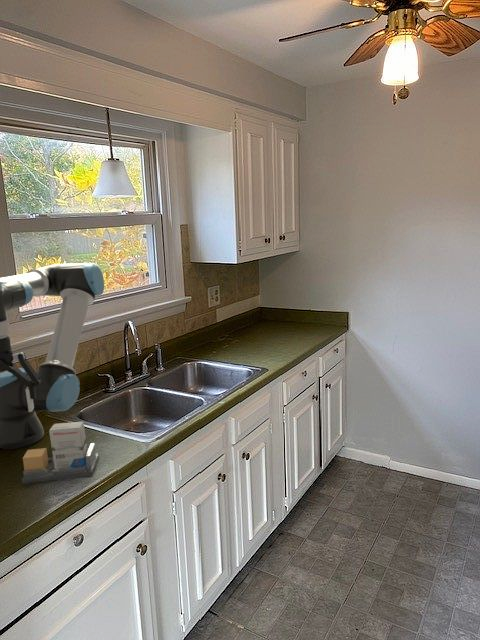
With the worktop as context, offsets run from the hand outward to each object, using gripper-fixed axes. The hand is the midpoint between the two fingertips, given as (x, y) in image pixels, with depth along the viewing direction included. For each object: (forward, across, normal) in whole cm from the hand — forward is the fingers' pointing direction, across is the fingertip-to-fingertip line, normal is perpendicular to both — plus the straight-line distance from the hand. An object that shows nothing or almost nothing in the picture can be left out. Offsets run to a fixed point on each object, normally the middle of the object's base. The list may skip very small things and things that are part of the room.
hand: (5, 412), depth 132 cm
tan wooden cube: (+17, +6, -1) cm, 18 cm away
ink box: (+17, +16, -1) cm, 23 cm away
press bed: (+19, +14, -1) cm, 23 cm away
